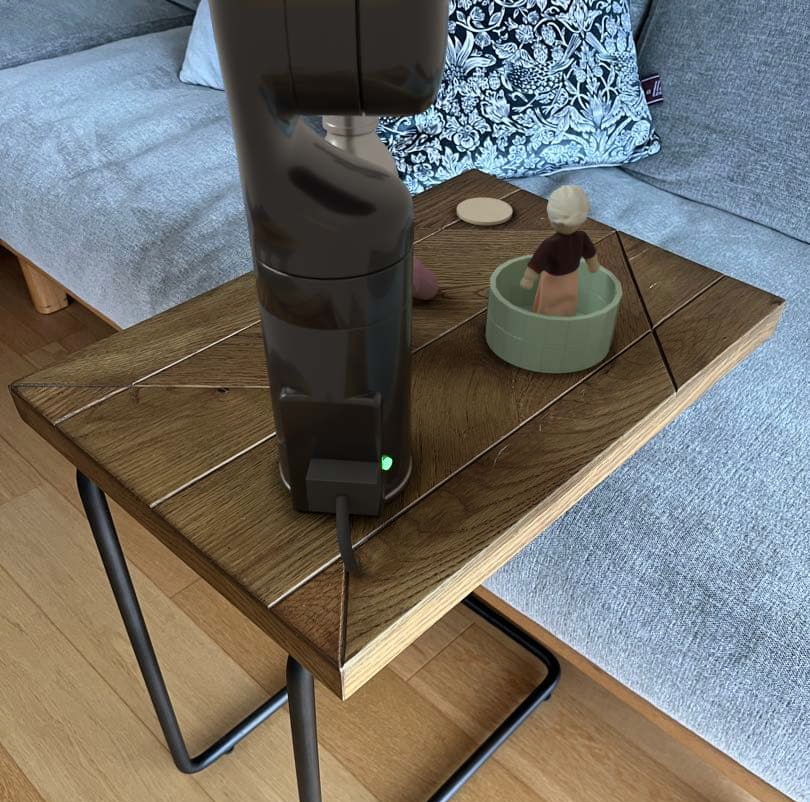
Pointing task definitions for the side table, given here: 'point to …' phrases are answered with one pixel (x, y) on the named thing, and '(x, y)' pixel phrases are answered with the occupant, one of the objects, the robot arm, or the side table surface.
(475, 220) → the coaster
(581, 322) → the bowl
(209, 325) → the side table surface
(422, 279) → the video game controller
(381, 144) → the metal water bottle
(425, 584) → the side table surface
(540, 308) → the grandmother figurine
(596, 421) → the side table surface
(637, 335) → the side table surface
